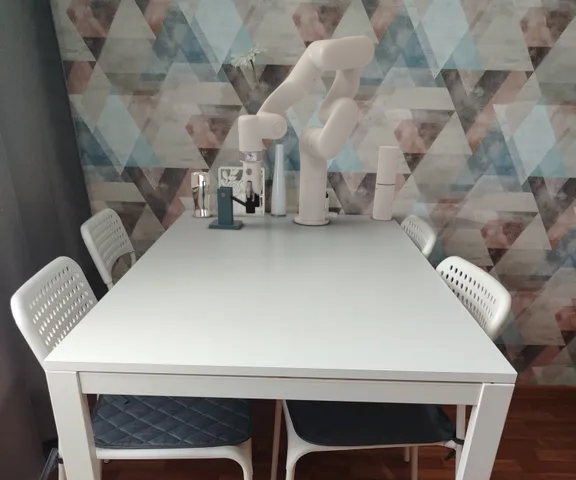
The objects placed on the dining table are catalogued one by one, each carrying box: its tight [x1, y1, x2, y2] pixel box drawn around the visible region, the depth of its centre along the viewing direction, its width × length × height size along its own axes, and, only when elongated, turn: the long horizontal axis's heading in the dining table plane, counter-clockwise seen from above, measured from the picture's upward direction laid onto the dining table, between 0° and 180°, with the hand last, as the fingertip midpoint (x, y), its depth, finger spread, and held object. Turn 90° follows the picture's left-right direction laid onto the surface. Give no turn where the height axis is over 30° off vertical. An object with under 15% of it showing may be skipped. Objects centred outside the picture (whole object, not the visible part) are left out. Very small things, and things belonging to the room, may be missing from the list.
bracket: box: [208, 185, 244, 231], centre depth 188 cm, size 10×9×13 cm
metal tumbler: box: [190, 171, 211, 219], centre depth 201 cm, size 7×7×15 cm
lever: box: [230, 191, 246, 208], centre depth 187 cm, size 12×5×2 cm, turn 84°
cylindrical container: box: [372, 145, 400, 221], centre depth 203 cm, size 7×7×25 cm
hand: (253, 210), depth 188 cm, fingers open, 9 cm apart
